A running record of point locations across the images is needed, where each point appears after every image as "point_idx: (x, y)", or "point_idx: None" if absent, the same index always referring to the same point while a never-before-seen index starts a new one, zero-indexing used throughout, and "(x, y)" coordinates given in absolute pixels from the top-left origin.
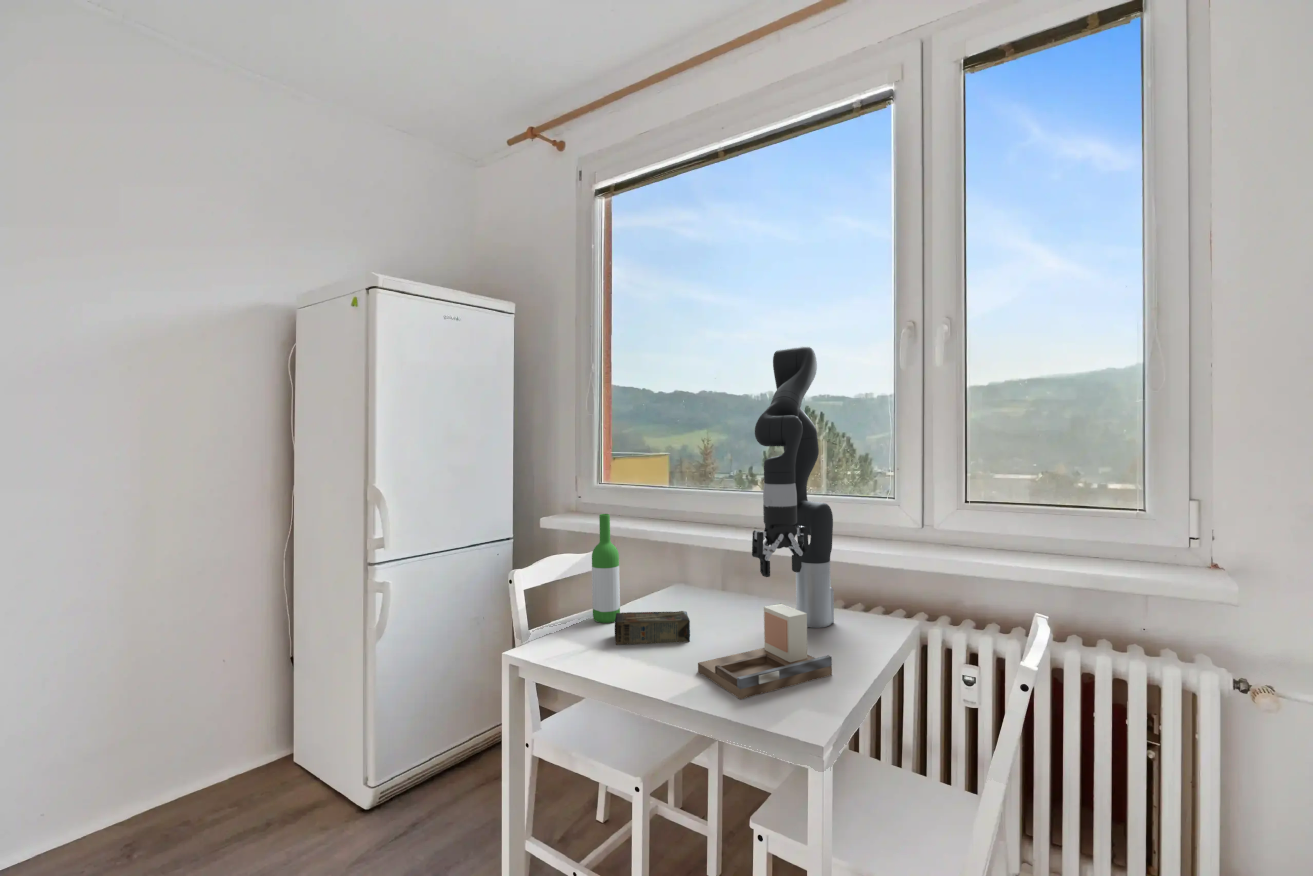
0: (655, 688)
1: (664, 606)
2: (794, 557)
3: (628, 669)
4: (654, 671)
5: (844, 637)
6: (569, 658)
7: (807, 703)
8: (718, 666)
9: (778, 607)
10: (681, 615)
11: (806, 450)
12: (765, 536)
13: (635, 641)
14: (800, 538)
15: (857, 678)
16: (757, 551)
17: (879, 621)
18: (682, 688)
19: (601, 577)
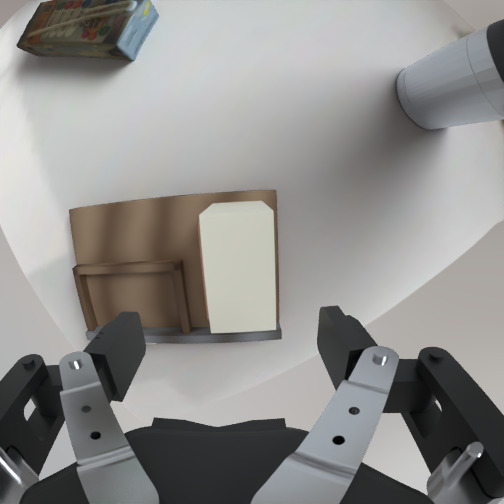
0: (20, 238)
1: None
2: (342, 368)
3: (11, 158)
4: (31, 178)
5: (422, 188)
6: None
7: (178, 373)
8: (76, 273)
9: (238, 244)
10: (119, 17)
11: None
12: (47, 489)
13: (53, 55)
14: (444, 442)
15: (303, 345)
16: (29, 421)
17: (495, 167)
18: (44, 255)
19: None
